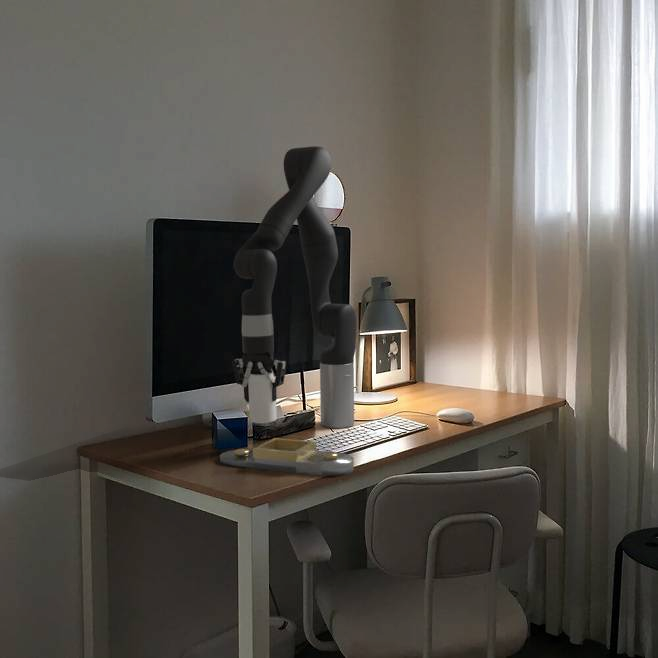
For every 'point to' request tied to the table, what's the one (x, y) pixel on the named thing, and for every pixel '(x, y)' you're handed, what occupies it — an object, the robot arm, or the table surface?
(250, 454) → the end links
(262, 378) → the can
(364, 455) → the table surface
